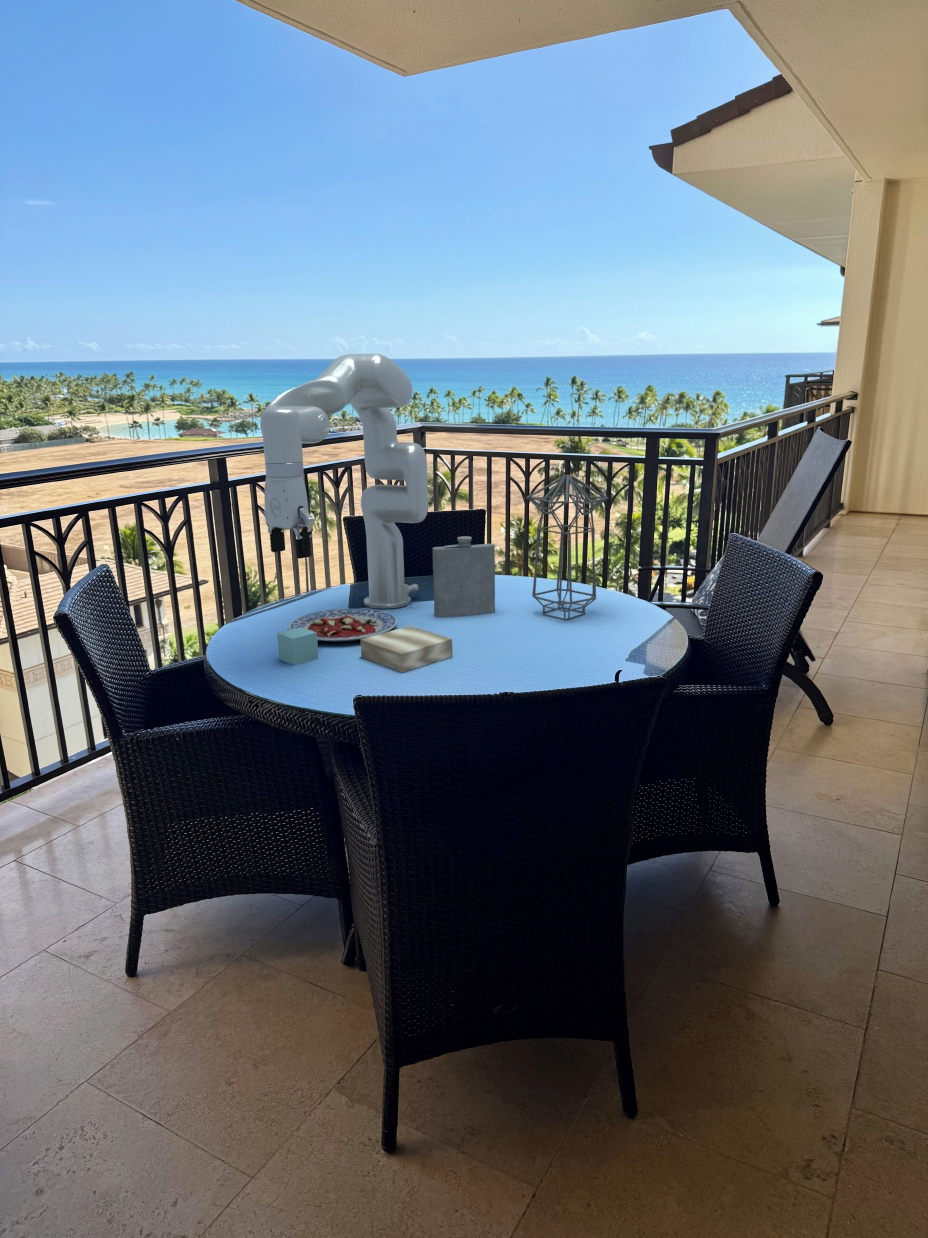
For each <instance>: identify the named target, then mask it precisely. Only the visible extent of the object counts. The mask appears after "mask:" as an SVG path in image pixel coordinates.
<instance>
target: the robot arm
mask: <svg viewBox="0 0 928 1238" xmlns="http://www.w3.org/2000/svg"><path fill="white" fill-rule="evenodd" d="M412 397H413V384H412V381H411V378H410V377H409V375H408V374H407V373H406V371H405V370H403V369H402V368H401V367H400V366H399V365H398V364H396V363H395V362H394V361H393V360H392V359H390V358H389V357H388V356H386V355H383V354H380V353H346V354H342V355H340V356H338V357H337V358H335V360H333V361H332V363H330V365H329V366H327V367H326V369H325V370H323V372H321V374H320V375H319V376H317V378H315V379H313V380H311V381H307V382H305V383H302V384H300V385H298V386H296V387H293V388H291V389H288V390H286V391H284V392H282V393H280V394H279V395H278V396H276V397H275V398H274V399H273V400H272V401H271V402H270V403H269V404H268V405H267V406H266V407H265V409H264V410H263V411H262V413H261V415H260V416H261V417H260V423H259V425H260V428H259V429H260V430H261V433H262V442H263V454H264V455H263V456H264V468H265V480H264V481H265V482H264V510H263V516H264V517H265V518H264V521H265V524H266V525H267V527H268V528H267V531H268V533H269V542H270V543H269V544H270V551H271V553H279V552H284V551H285V550H286V539H285V531H283V530H291V529H292V530H293V532H294V535H295V537H296V538H295V539H294V540H295V541H294V542H295V543H294V544H295V553H296V555H295V556H296V557H295V558H296V559H298V560H299V559H306V558H310V557H312V547H311V546H312V545H311V538H312V535H313V533H312V532H314V528H313V527H314V523H315V518H314V517H313V516H312V515H311V514H310V511H309V503H308V495H307V489H306V483H305V472H304V462H303V461H304V456H303V444H317V443H320V442H322V441H324V440H325V439H326V438H327V436H328V435H329V432H330V428H331V423H330V419H329V416H330V415H333V414H337V413H339V412H341V411H342V410H343V409H345V408H346V406H347V405H348V404H349V405H351V407H353V409H354V411H355V412H356V413H357V415H358V417H359V419H360V422H361V425H362V432H363V433H362V434H363V450H364V451H363V452H364V453H363V454H364V467H365V471H366V474H367V475H368V477H370V478H371V479H375V480H382V481H383V480H385V481H404V482H405V485H397V484H376V485H375V484H374V485H371V486H368V487H366V488H365V489H364V490H363V491H362V493H361V497H360V508H361V512H362V517H363V521H364V526H365V527H364V529H365V534H366V535H365V537H366V554H367V555H366V557H367V573H368V574H367V575H368V579H367V580H368V595H369V596H367V597H365V598H364V599H363V605H365V606H366V607H368V608H372V609H381V610H386V609H390V610H391V609H397V608H402V607H405V606H407V605H409V604H410V603H412V602H411V601H412V597H410V596H409V594H410V593H414V592H417V591H419V584H417V583H413V584H410V585H408V584H406V583H405V566H404V565H405V564H404V540H403V539H404V538H403V536H402V533H401V531H400V529H399V527H398V526H397V524H395V523H405V524H407V523H408V524H418V523H421V522H423V521H424V520H425V519H426V517H427V514H428V509H429V491H428V489H429V486H428V464H427V463H428V461H427V455H426V452H425V449H423V448H424V447H422V446H421V444H418V443H416V442H409V441H407V442H406V441H405V442H404V441H403V442H402V441H400V442H399V440H398V432H397V431H398V430H397V421H396V419H395V416H394V414H393V413H392V412H391V410H390V409H389V408H391V409H394V408H396V409H398V408H403V407H406V406H407V405H408V404H409V403H410V402H411V399H412Z"/></svg>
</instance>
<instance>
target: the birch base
mask: <svg viewBox="0 0 928 1238" xmlns="http://www.w3.org/2000/svg"><path fill="white" fill-rule="evenodd" d="M359 640H360V653H361V654H360V657H361V658H363V659H365V660H368V661H371V662H373V663H376V664H379V665H381V666H385V667H387V668H390V669H392V670H396V671H397V672H400V673H406V672H408V671H412V670H415V669H418V668H421V667H424V666H426V665H431V664H433V663H437V662H439V661H442V660H445V659H448V658H453V656H454V655H453V654H454V652H453V638H451V637H448V636H445V635H442V634H438V633H436V632H435V633H434V632H432V631H428V630H425V629H423V628H422V629H421V628H418V627H415V626H412V625H408V626H404V627H401V628H397V629H394V630H393V629H392V630H389V631H387V632H385V633H382V634H379V635H375V636H371V637H367V638H364V639H359Z"/></svg>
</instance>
